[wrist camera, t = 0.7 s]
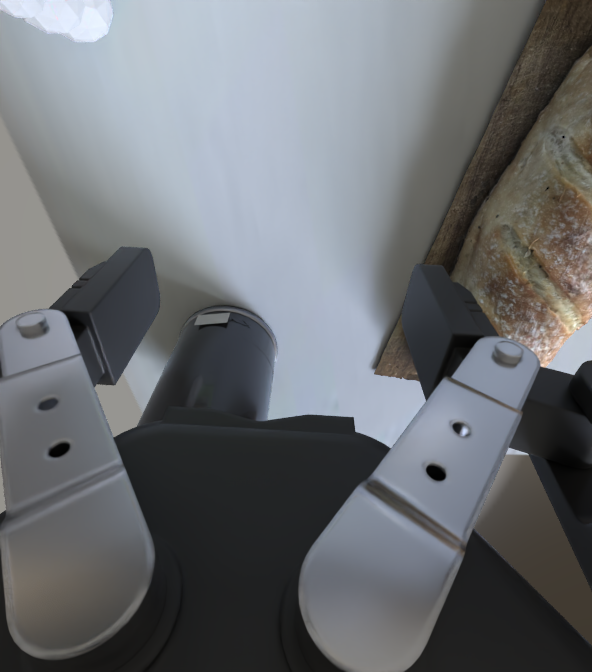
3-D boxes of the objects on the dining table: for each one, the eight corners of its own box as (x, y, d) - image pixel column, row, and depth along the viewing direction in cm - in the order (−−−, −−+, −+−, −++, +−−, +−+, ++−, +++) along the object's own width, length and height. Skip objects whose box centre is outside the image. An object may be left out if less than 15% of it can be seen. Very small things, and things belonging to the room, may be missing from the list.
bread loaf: (531, 393, 40) (589, 469, 33) (370, 384, 39) (391, 461, 31) (819, -77, 20) (1142, -169, 13) (513, -128, 19) (666, -264, 11)
